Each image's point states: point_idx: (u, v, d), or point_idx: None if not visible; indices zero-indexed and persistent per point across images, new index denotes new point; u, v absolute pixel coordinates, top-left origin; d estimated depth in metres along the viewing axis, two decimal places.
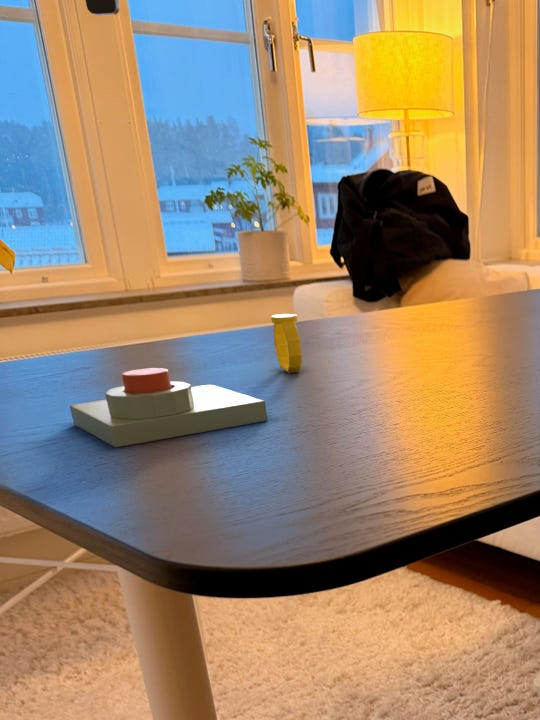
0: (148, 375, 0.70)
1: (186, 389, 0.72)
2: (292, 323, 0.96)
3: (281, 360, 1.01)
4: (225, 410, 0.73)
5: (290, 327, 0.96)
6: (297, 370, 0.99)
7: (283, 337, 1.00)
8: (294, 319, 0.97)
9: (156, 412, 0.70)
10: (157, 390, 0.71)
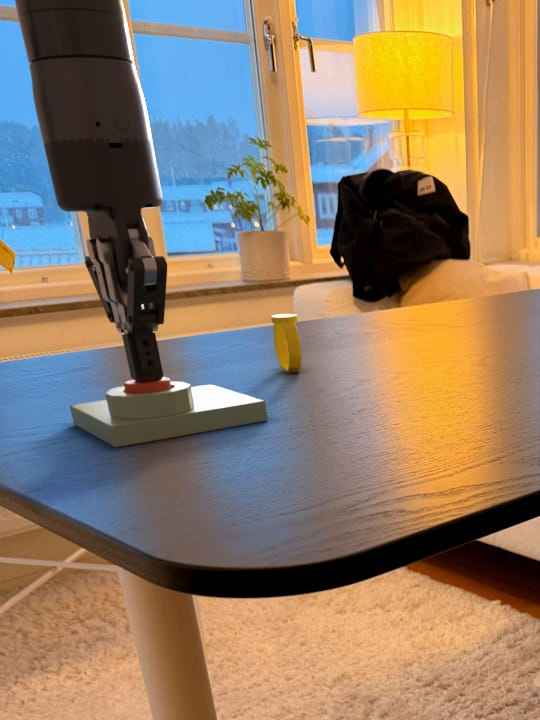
0: (150, 384, 0.71)
1: (186, 389, 0.72)
2: (292, 323, 0.96)
3: (281, 360, 1.01)
4: (225, 410, 0.73)
5: (290, 327, 0.96)
6: (297, 370, 0.99)
7: (283, 337, 1.00)
8: (294, 319, 0.97)
9: (156, 412, 0.70)
10: None
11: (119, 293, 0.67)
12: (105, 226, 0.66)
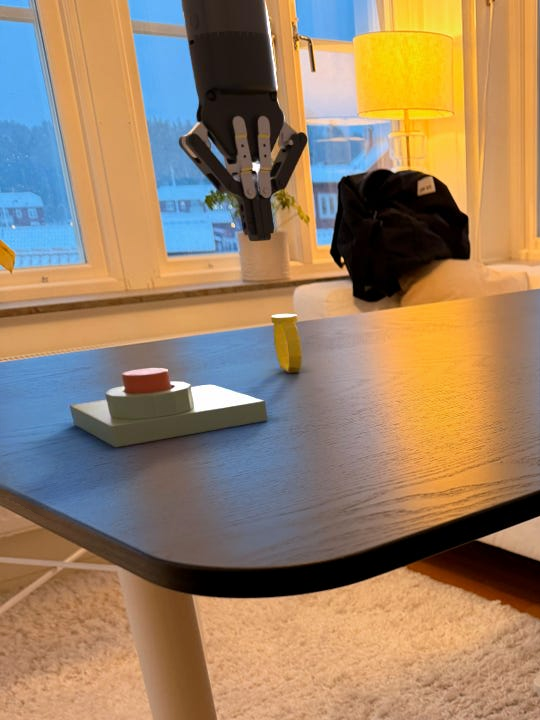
0: (148, 375, 0.70)
1: (186, 389, 0.72)
2: (292, 323, 0.96)
3: (281, 360, 1.01)
4: (225, 410, 0.73)
5: (290, 327, 0.96)
6: (297, 370, 0.99)
7: (283, 337, 1.00)
8: (294, 319, 0.97)
9: (156, 412, 0.70)
10: (157, 390, 0.71)
11: (227, 165, 0.86)
12: None
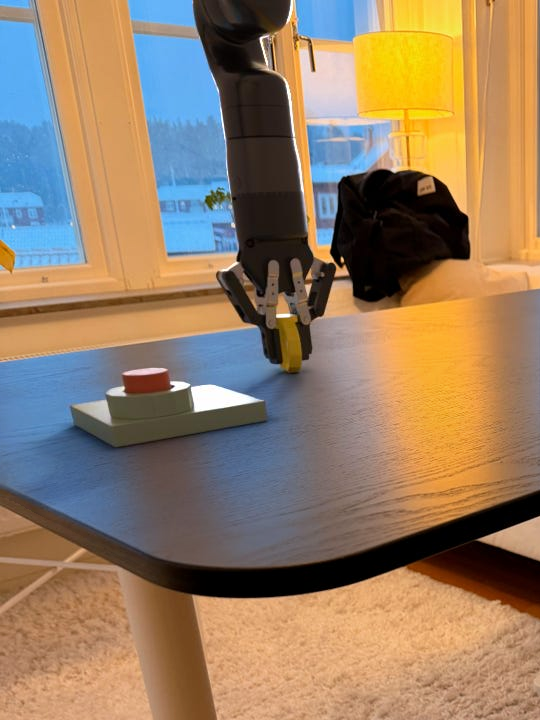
0: (148, 375, 0.70)
1: (186, 389, 0.72)
2: (292, 323, 0.96)
3: None
4: (225, 410, 0.73)
5: (290, 327, 0.96)
6: (297, 370, 0.99)
7: (283, 337, 1.00)
8: (294, 319, 0.97)
9: (156, 412, 0.70)
10: (157, 390, 0.71)
11: (256, 297, 0.96)
12: None
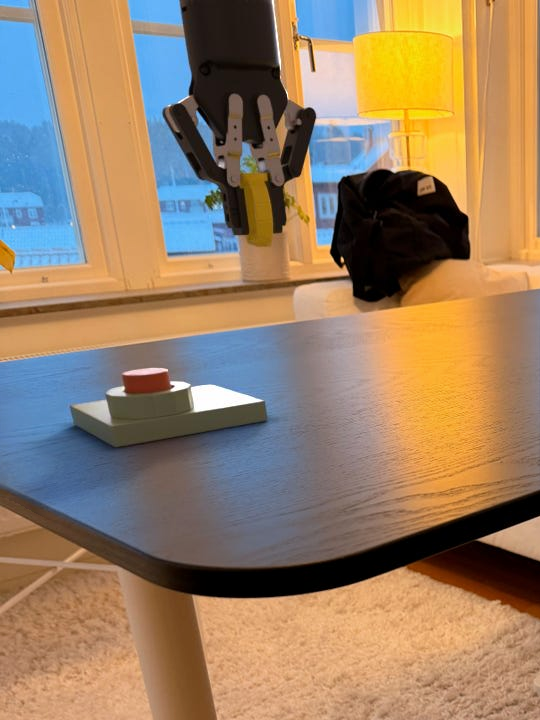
0: (148, 375, 0.70)
1: (186, 389, 0.72)
2: (261, 181, 0.77)
3: None
4: (225, 410, 0.73)
5: (258, 185, 0.76)
6: (268, 244, 0.79)
7: (251, 206, 0.81)
8: (264, 177, 0.77)
9: (156, 412, 0.70)
10: (157, 390, 0.71)
11: (214, 147, 0.76)
12: None
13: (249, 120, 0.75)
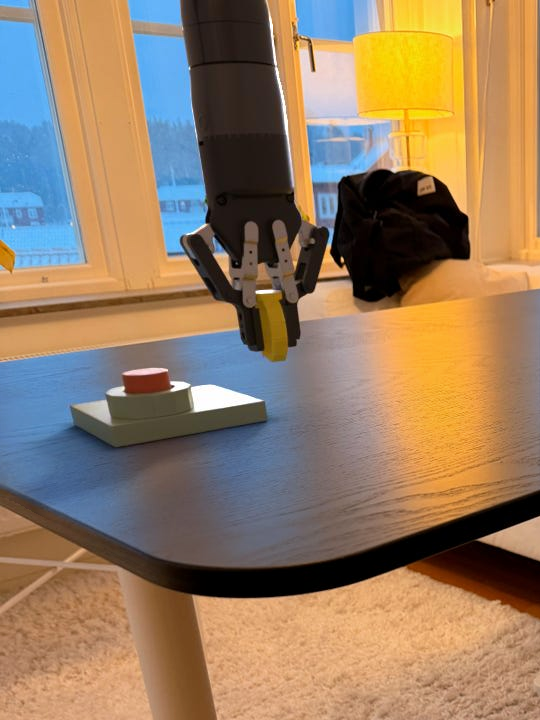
0: (148, 375, 0.70)
1: (186, 389, 0.72)
2: (276, 301, 0.78)
3: None
4: (225, 410, 0.73)
5: (273, 306, 0.78)
6: (282, 359, 0.81)
7: (266, 319, 0.82)
8: (278, 296, 0.79)
9: (156, 412, 0.70)
10: (157, 390, 0.71)
11: (230, 268, 0.78)
12: None
13: (264, 243, 0.77)
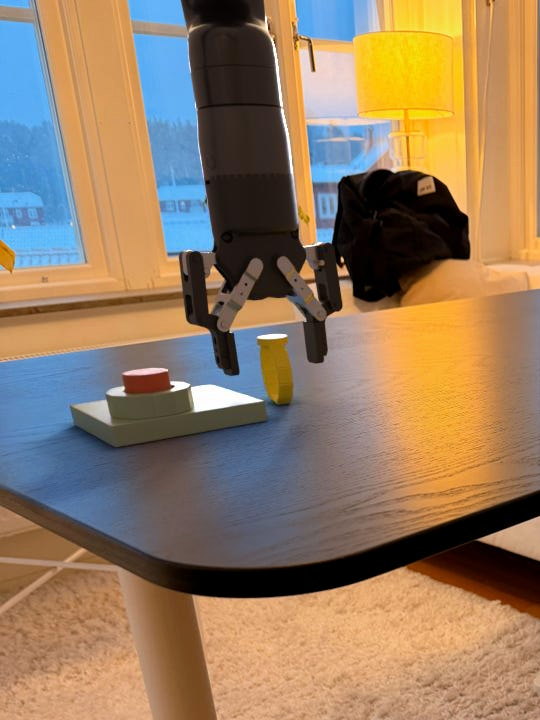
0: (148, 375, 0.70)
1: (186, 389, 0.72)
2: (282, 346, 0.80)
3: (269, 389, 0.84)
4: (225, 410, 0.73)
5: (279, 351, 0.80)
6: (288, 401, 0.82)
7: (271, 361, 0.84)
8: (284, 341, 0.80)
9: (156, 412, 0.70)
10: (157, 390, 0.71)
11: (219, 293, 0.78)
12: None
13: (269, 279, 0.78)
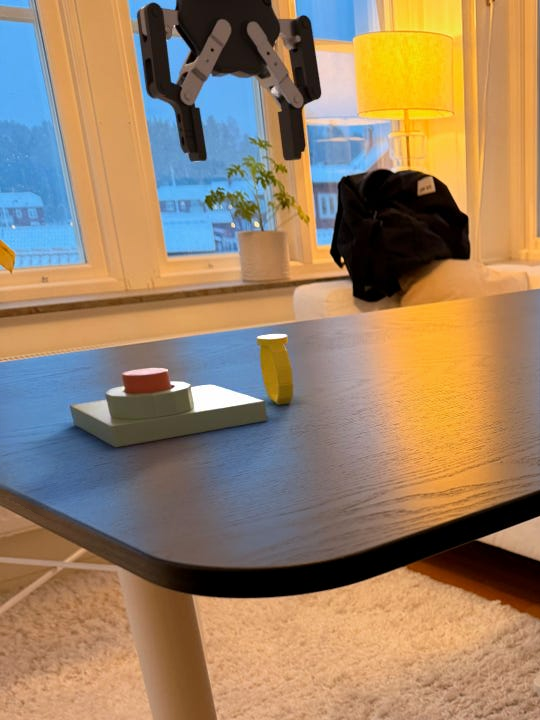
0: (148, 375, 0.70)
1: (186, 389, 0.72)
2: (282, 346, 0.80)
3: (269, 389, 0.84)
4: (225, 410, 0.73)
5: (279, 351, 0.80)
6: (288, 401, 0.82)
7: (271, 361, 0.84)
8: (284, 341, 0.80)
9: (156, 412, 0.70)
10: (157, 390, 0.71)
11: (183, 66, 0.71)
12: None
13: (238, 49, 0.70)
